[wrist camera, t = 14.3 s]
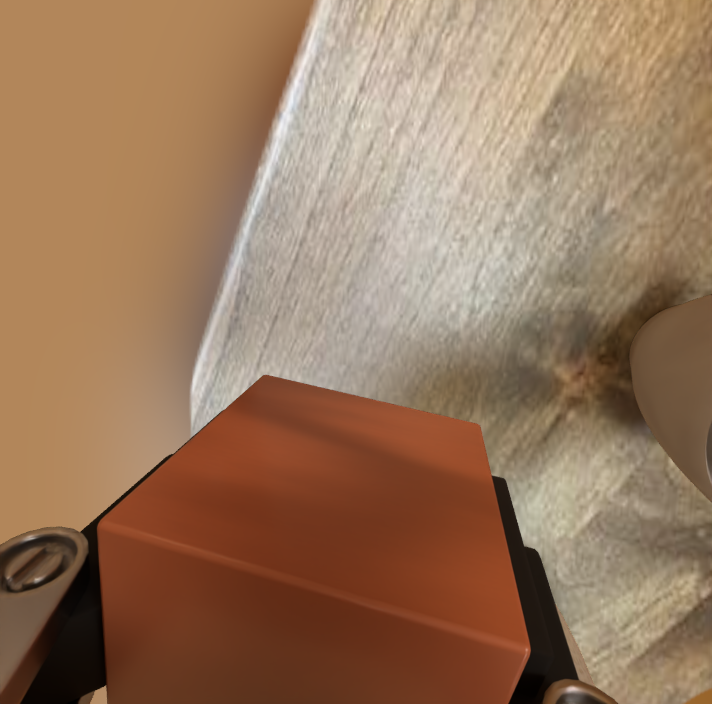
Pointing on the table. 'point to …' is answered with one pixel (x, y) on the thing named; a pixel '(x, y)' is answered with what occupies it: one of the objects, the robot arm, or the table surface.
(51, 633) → the robot arm
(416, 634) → the block
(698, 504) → the table surface
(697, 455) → the mug
